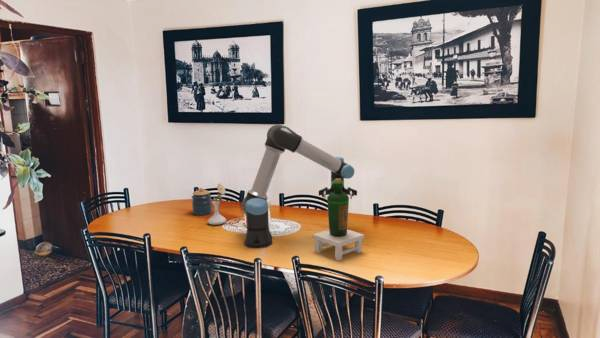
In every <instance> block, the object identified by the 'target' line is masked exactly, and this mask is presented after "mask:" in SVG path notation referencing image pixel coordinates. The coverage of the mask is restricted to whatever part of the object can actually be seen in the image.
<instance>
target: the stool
mask: <svg viewBox="0 0 600 338" xmlns="http://www.w3.org/2000/svg"><path fill="white" fill-rule="evenodd" d="M312 239H314V240H315V241H314V245H315V246H314V252H315V253H318V254H319V253H322V252H323V248H324V247H328V246H330V245H331V246H334V260H336V261H342V260H343V255H345V254H348V253H350V252H355V253H357V254H360V253H363V239H365V234H363V233H360V232H357V231H354V230H350V229H347V234H346V235H345V236H341V237H336V236H332V235H331V234H330V232H329V229H326V230H323V231H319V232H315V233H312ZM351 243H352V244H353V243H354V246H353V247H350V248H348V249H345V250H343V247H344V246H346V245H349V244H351Z"/></svg>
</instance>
